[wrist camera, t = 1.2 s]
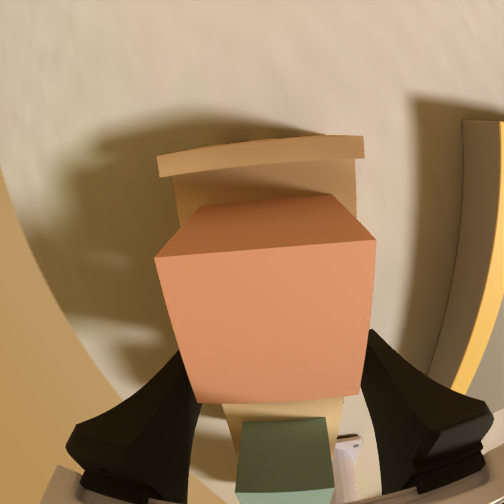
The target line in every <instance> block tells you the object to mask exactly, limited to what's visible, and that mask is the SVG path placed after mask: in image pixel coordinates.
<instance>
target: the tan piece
mask: <svg viewBox="0 0 504 504" xmlns="http://www.w3.org/2000/svg"><path fill="white" fill-rule="evenodd" d="M156 157H157V164H158V170H159V177H166V176H171V177H172V183H173V190H174V196H175V202H176V207H177V213H178V219H179V224H180V228H181V226H182V225H183V224H184V223H185V222H186V221H187V220H188V219H189V218H190V216H191V215H192V214H193V213H194V212H195V211H196V210H197V209H198V208H199V207H200V206H206V205H215V204H224V203H234V202H244V201H254V200H266V199H277V198H289V197H303V196H317V195H333V196H334V197H335V198H336V199H337V200H338V201H339V202H340V203H341V204H342V205H343V206H344V207H345V208H346V209H347V210H348V211H349V212H350V213H351V214H352V215H353V216H354V217H355V218H356V177H355V159H358V158H364V141H363V136H348V135H316V136H299V137H294V138H280V139H275V138H272V139H261V140H251V141H247V142H239V143H231V144H226V143H225V144H218V145H210V146H204V147H197V148H192V149H187V150H182V151H178V152H173V153H169V154H164V155H160V156H156ZM343 399H344V396H342V397H335V398H326V399H317V400H307V401H294V402H279V403H257V404H222V407H223V410H224V413H225V417H226V420H227V423H228V427H229V430H230V433H231V436H232V440H233V443H234V446H235V449H236V452H237V455H238V458H239V450H240V440H241V430H242V422H268V421H288V420H301V419H312V418H322V417H326V423H327V430H328V437H329V444H330V452H331V459H332V460H333V455H334V450H335V445H336V440H337V435H338V429H339V424H340V418H341V412H342V406H343ZM333 476H334V475H333Z"/></svg>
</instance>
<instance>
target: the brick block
mask: <svg viewBox="0 0 504 504" xmlns="http://www.w3.org/2000/svg"><path fill="white" fill-rule="evenodd" d="M375 253H376V239H375V238H374V237H373V236H372V235H371V234H370V233H369V232H368V230H367V229H366V228H365V227H364V226H363V225H362V224H361V223H360V222H359V221H358V220H357V219H356V218H355V217H354V216H353V215H352V214H351V213H350V212H349V211H348V210H347V209H346V208H345V207H344V206H343V205H342V204H341V203H340V202H339V201H338V200H337V199H336V198H335V197H334V196H333V195H317V196H303V197H289V198H277V199H266V200H254V201H244V202H234V203H224V204H215V205H206V206H200V207H199V208H198V209H197V210H196V211H195V212H194V213H193V214H192V215H191V216H190V218H189V219H188V220H187V221H186V222H185V223H184V224H183V225H182V226H181V228H180V229H179V230H178V231H177V232H176V233H175V234H174V235H173V237H172V238H171V239H170V240H169V241H168V242H167V243H166V244H165V246H164V247H163V248H162V249H161V250H160V251H159V253H158V254H157V255H156V256H155V257H154V260H155V264H156V268H157V272H158V276H159V280H160V284H161V288H162V291H163V295H164V299H165V303H166V306H167V310H168V313H169V317H170V320H171V324H172V327H173V330H174V334H175V337H176V340H177V344H178V347H179V350H180V353H181V356H182V359H183V362H184V365H185V368H186V371H187V374H188V377H189V380H190V383H191V386H192V389H193V392H194V394H195V397H196V400H197V403H205V404H257V403H279V402H294V401H307V400H317V399H326V398H335V397H342V396H350V395H356V394H359V389H360V384H361V378H362V372H363V366H364V360H365V354H366V347H367V340H368V332H369V324H370V315H371V306H372V296H373V284H374V270H375Z"/></svg>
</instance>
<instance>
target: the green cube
mask: <svg viewBox="0 0 504 504" xmlns="http://www.w3.org/2000/svg"><path fill="white" fill-rule="evenodd" d="M334 489H335V484H334V476H333V467H332V459H331V452H330V444H329V437H328V430H327V423H326V417H322V418H312V419H301V420H288V421H268V422H242V430H241V440H240V450H239V459H238V469H237V478H236V488H235V493H236V496H237V498H238V500H239V502H240V504H330V501H331V498H332V495H333V492H334Z"/></svg>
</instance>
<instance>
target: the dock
mask: <svg viewBox="0 0 504 504" xmlns="http://www.w3.org/2000/svg"><path fill="white" fill-rule="evenodd" d="M462 125H463V151H464V172H463V198H462V213H461V224H460V233H459V242H458V249H457V256H456V263H455V269H454V274H453V280H452V285H451V290H450V295H449V300H448V304H447V308H446V313H445V317H444V321H443V325H442V328H441V332H440V336H439V339H438V343H437V346H436V350H435V353H434V356H433V359H432V362H431V365H430V368H429V371H428V374H427V376H428V377H429V378H431V379H432V380H434V381H436V382H438V383H439V384H441V385H443V386H445V387H447V388H449V389H451V390H453V391H456V392H458V393H461V394H463V395H466V396H469V397H472V398H475V399H479V400H482V401H485V403H486V404H487V406H488V407H489V409H490V411H491V413H494V412H497V411H499V410H501V409H503V408H504V122H501V121H486V120H462Z"/></svg>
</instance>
